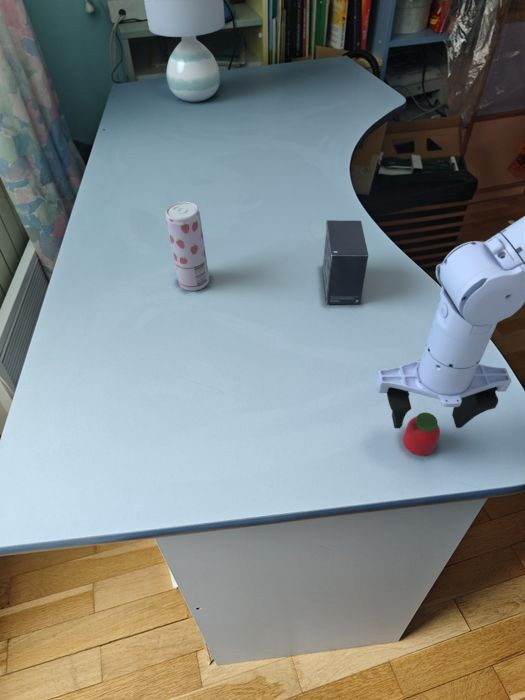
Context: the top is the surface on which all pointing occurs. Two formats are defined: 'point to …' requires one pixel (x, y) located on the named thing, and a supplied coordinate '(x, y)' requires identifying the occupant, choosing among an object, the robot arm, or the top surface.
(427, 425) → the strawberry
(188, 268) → the beverage can
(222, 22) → the lamp
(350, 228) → the small box
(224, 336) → the top surface
